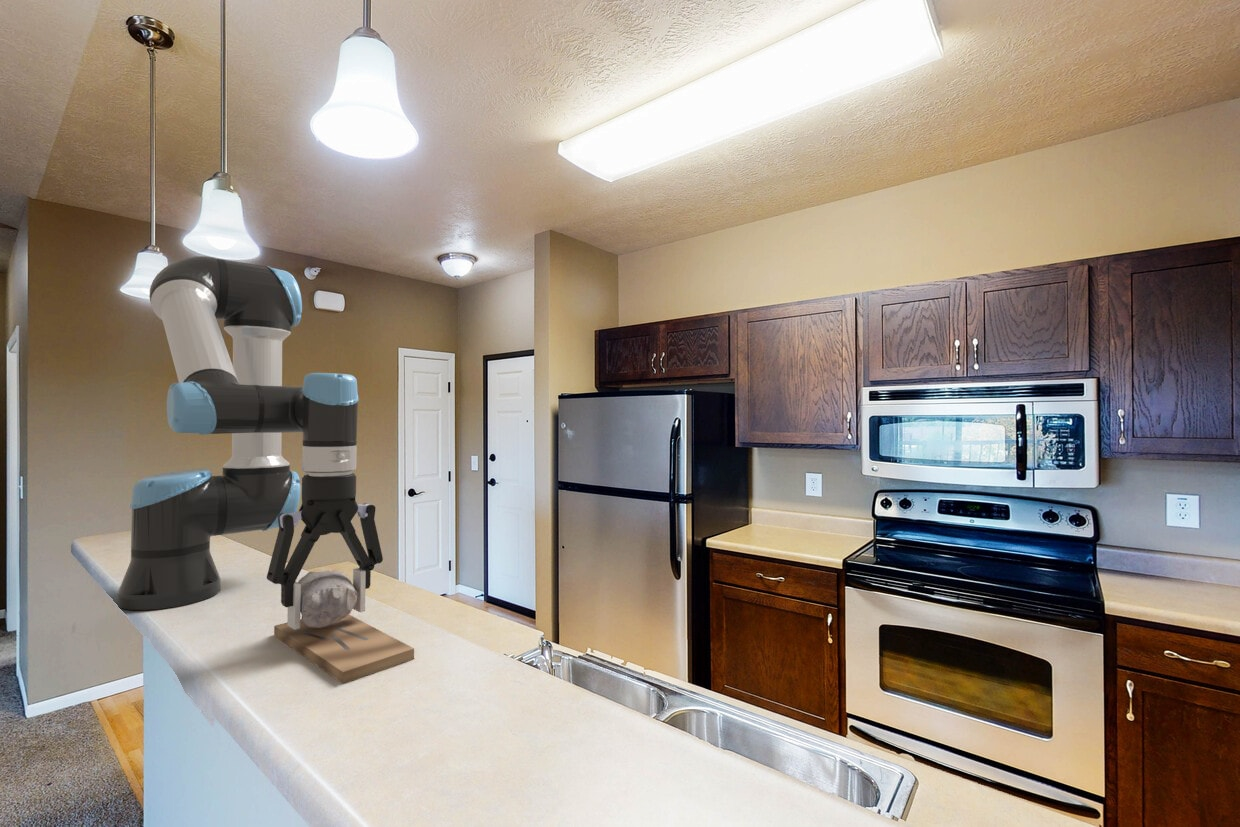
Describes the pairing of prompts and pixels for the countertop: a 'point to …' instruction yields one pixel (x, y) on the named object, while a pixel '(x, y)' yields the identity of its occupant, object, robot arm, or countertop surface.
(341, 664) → the board
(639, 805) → the countertop surface
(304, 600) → the stone
